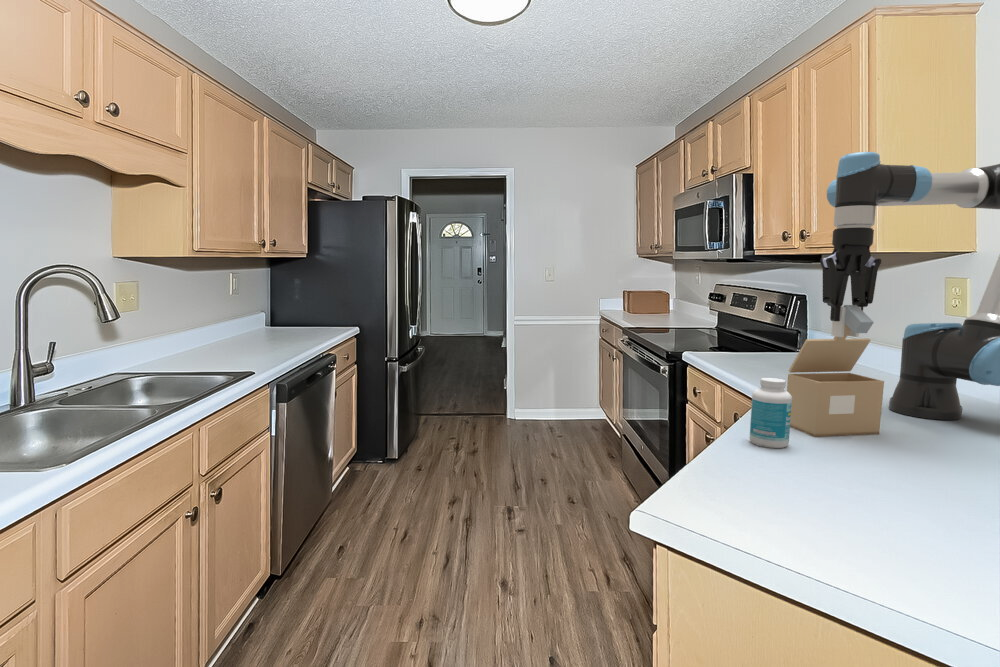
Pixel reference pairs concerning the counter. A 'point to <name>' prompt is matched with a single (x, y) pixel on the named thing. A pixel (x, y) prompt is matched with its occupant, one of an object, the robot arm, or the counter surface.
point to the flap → (835, 347)
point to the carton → (835, 404)
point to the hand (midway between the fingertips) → (844, 336)
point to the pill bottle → (771, 414)
